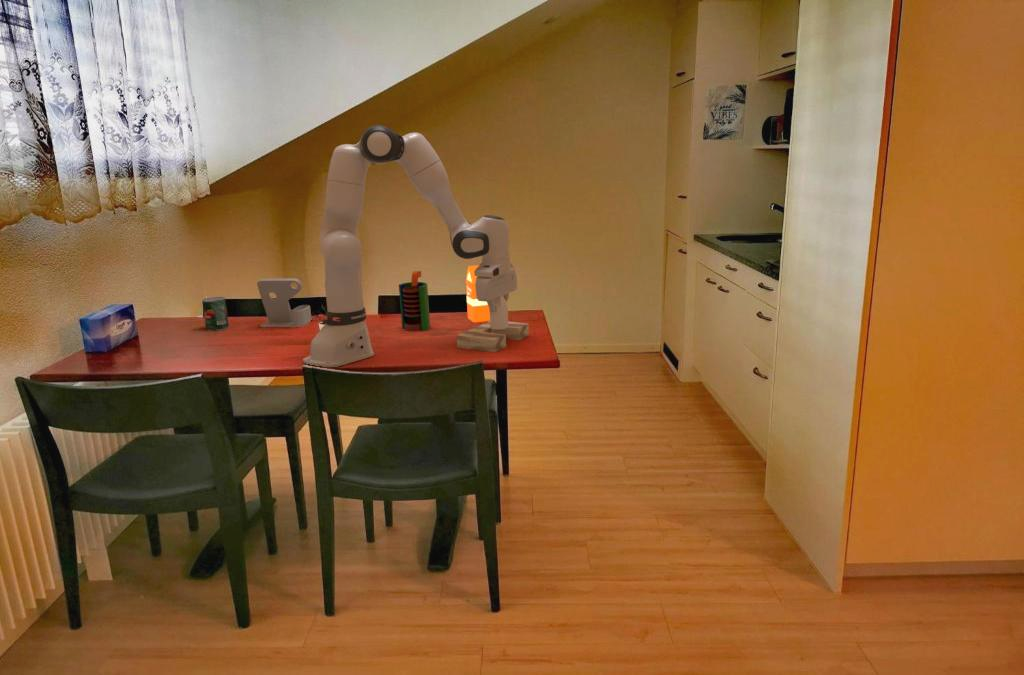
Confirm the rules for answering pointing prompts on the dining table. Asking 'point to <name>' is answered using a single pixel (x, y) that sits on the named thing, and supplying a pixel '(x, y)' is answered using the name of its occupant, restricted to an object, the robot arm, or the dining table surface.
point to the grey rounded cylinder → (499, 314)
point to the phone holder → (282, 303)
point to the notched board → (491, 336)
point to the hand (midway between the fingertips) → (498, 309)
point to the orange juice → (475, 299)
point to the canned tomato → (215, 313)
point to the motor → (414, 304)
